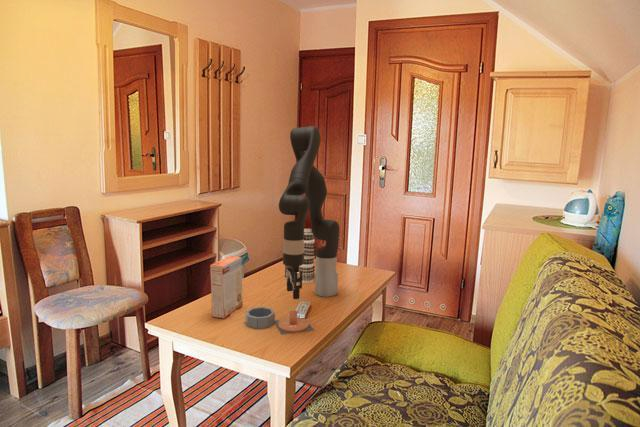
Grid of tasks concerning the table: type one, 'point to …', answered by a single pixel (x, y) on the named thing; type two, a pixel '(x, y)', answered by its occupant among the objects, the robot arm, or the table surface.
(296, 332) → the mat
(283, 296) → the table surface
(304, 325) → the lid
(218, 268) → the cracker box
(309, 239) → the decorative candle
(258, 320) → the bowl
